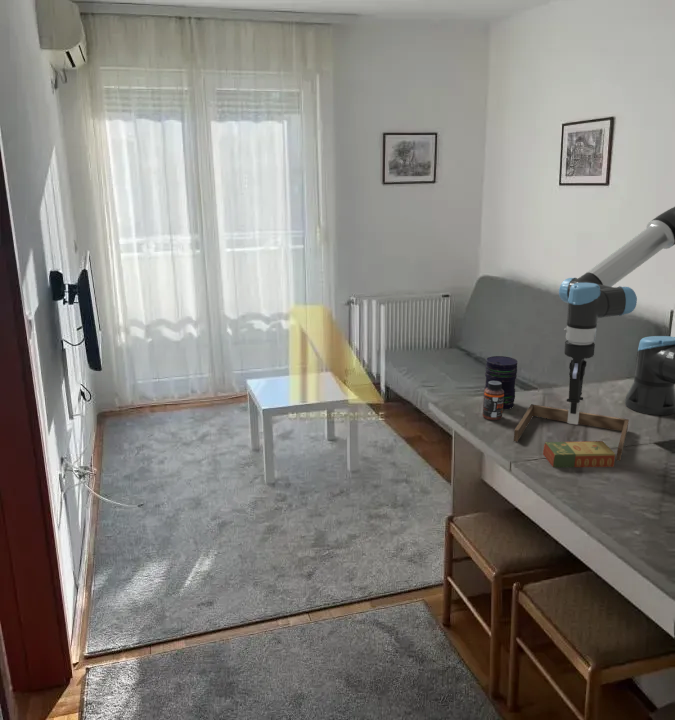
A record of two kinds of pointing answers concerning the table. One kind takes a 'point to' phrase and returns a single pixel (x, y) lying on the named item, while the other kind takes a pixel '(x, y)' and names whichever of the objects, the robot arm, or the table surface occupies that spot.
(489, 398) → the supplement bottle
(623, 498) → the table surface
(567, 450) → the carton
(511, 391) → the storage jar
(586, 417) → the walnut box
